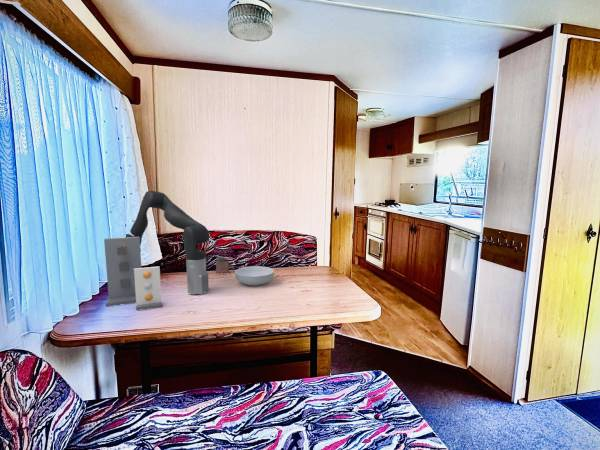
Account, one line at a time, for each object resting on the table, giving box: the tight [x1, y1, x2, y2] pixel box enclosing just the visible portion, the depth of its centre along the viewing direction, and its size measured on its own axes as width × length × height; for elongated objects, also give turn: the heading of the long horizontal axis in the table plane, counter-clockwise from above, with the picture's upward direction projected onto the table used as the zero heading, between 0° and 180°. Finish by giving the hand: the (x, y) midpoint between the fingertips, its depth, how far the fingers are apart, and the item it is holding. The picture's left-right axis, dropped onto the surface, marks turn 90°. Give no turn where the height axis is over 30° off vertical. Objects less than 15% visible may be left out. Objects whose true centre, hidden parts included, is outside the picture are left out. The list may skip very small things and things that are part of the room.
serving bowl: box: [234, 265, 275, 286], centre depth 176 cm, size 21×21×7 cm
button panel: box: [103, 237, 142, 307], centre depth 150 cm, size 14×15×29 cm
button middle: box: [119, 262, 128, 271], centre depth 152 cm, size 9×4×4 cm, turn 23°
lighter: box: [215, 256, 230, 275], centre depth 194 cm, size 8×3×10 cm, turn 84°
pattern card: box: [134, 266, 163, 311], centre depth 142 cm, size 6×10×18 cm, turn 113°
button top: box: [117, 246, 127, 255], centre depth 148 cm, size 9×4×4 cm, turn 23°
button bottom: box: [120, 279, 130, 288], centre depth 153 cm, size 9×4×4 cm, turn 23°
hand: (125, 254), depth 160 cm, fingers closed
